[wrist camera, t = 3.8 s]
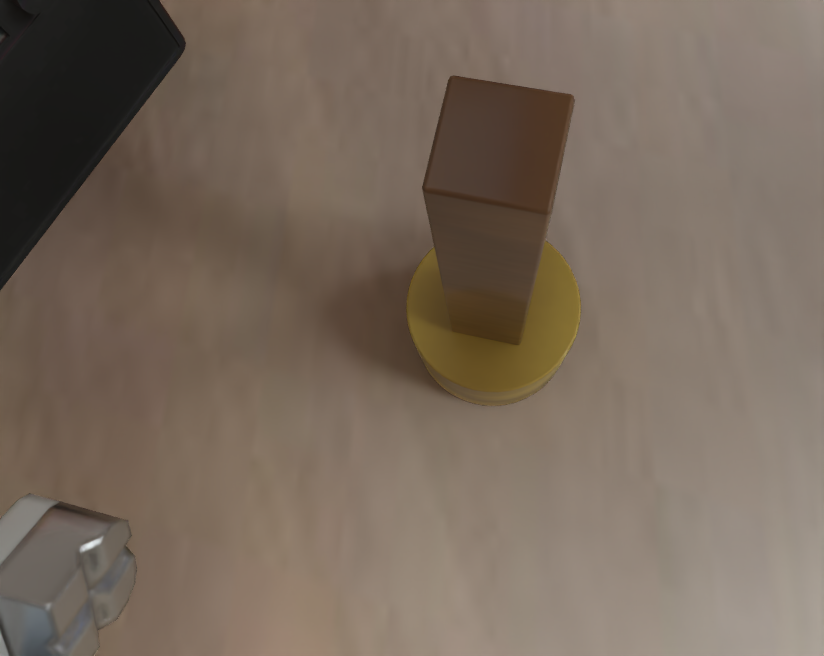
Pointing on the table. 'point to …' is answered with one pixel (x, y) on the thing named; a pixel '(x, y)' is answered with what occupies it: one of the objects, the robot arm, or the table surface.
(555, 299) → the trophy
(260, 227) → the table surface
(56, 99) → the radio
